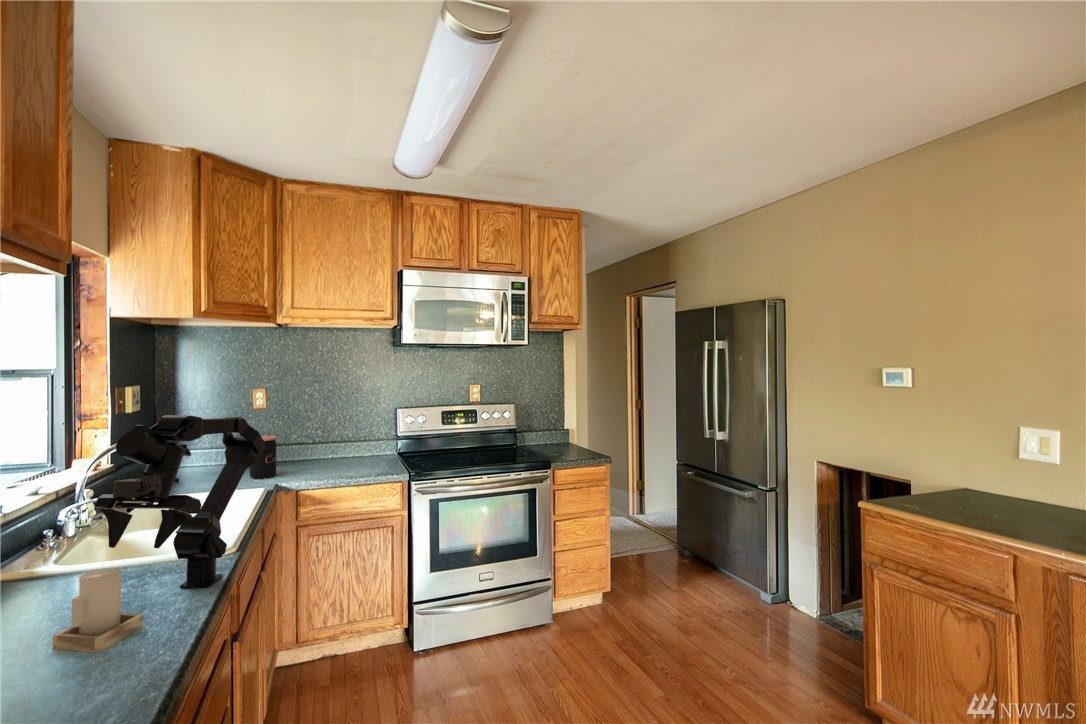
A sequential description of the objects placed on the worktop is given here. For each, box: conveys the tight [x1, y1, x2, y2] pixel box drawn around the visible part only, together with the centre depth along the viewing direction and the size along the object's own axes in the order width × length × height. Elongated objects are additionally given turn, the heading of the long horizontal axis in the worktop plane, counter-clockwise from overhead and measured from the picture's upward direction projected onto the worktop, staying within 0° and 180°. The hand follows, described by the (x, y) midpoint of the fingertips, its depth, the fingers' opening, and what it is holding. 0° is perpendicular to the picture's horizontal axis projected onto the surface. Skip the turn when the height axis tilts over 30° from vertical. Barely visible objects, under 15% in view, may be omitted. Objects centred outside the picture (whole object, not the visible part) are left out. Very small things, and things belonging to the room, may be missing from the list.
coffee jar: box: [249, 435, 277, 480], centre depth 236 cm, size 11×11×18 cm
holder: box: [52, 612, 144, 654], centre depth 98 cm, size 9×9×2 cm
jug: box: [71, 567, 122, 636], centre depth 97 cm, size 8×6×12 cm
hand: (133, 547), depth 103 cm, fingers open, 9 cm apart
